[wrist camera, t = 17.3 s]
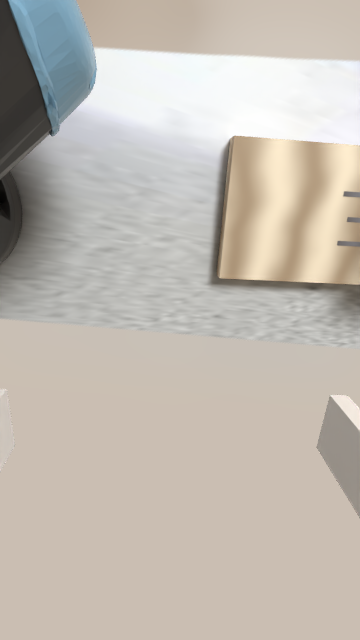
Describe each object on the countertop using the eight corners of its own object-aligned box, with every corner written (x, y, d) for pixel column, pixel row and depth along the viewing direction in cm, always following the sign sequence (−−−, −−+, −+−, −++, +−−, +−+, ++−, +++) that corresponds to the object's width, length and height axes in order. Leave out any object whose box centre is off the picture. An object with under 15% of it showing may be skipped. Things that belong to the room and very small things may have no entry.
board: (216, 274, 39) (219, 278, 37) (230, 138, 34) (234, 135, 32) (442, 284, 41) (456, 289, 40) (486, 158, 36) (504, 156, 35)
